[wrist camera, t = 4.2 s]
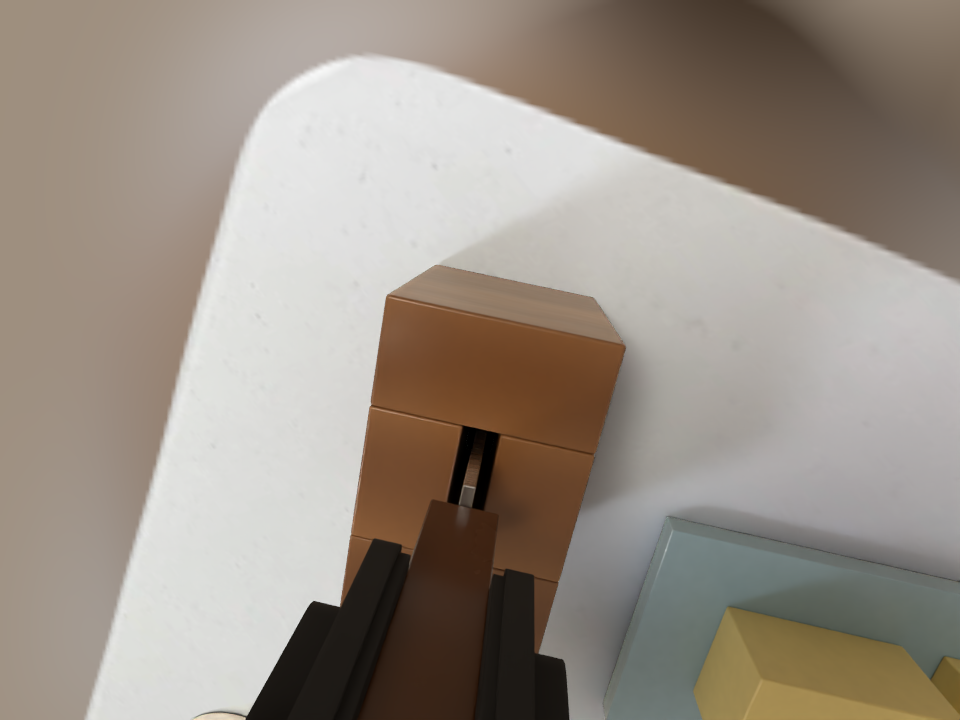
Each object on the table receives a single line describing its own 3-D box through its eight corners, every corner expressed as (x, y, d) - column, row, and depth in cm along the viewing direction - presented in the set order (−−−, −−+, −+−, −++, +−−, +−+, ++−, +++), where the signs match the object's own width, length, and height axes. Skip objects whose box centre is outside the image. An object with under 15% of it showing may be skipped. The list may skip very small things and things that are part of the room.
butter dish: (666, 515, 22) (672, 529, 21) (1068, 605, 21) (1092, 624, 20) (602, 702, 25) (605, 722, 24) (954, 786, 24) (971, 810, 23)
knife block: (434, 263, 20) (385, 294, 13) (595, 297, 20) (627, 345, 13) (394, 498, 23) (337, 620, 16) (534, 530, 23) (535, 667, 16)
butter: (726, 604, 22) (762, 678, 18) (902, 645, 21) (971, 727, 18) (691, 690, 23) (719, 774, 20) (857, 729, 23) (913, 821, 19)
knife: (475, 365, 21) (271, 937, 5) (515, 374, 21) (456, 983, 5) (461, 435, 22) (246, 1123, 5) (500, 443, 22) (400, 1167, 5)
